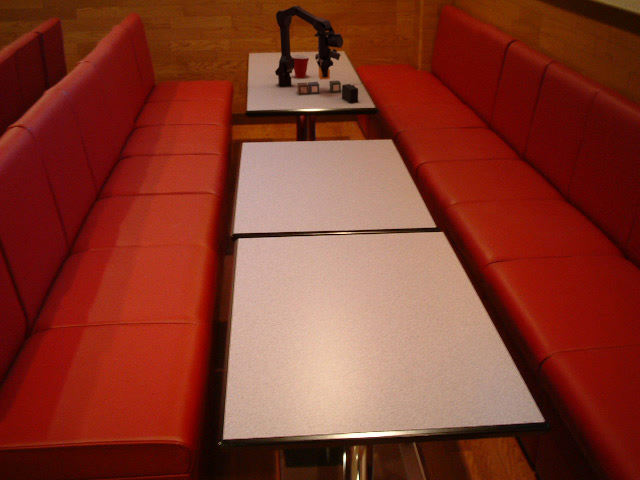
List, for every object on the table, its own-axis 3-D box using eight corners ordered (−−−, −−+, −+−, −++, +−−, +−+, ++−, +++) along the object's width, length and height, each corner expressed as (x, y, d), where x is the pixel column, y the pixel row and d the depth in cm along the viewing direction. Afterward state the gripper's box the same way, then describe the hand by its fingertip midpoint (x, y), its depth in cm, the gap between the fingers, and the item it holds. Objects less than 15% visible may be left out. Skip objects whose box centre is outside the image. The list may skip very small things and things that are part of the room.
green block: (331, 92, 336) (331, 83, 334) (329, 90, 341) (329, 80, 338) (340, 92, 337) (340, 82, 335) (338, 89, 341) (338, 80, 339)
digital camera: (360, 102, 320) (360, 88, 316) (350, 103, 318) (350, 89, 315) (351, 97, 328) (351, 83, 325) (342, 98, 326) (342, 84, 323)
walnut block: (299, 94, 333) (298, 85, 331) (297, 92, 338) (297, 83, 336) (308, 94, 334) (308, 84, 332) (306, 91, 339) (306, 82, 336)
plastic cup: (313, 77, 367) (313, 56, 361) (298, 80, 362) (297, 58, 356) (303, 73, 375) (303, 52, 369) (288, 76, 370) (287, 55, 364)
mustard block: (320, 79, 332) (320, 70, 330) (318, 77, 337) (318, 67, 334) (329, 79, 333) (329, 69, 331) (328, 76, 337) (327, 67, 335)
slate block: (310, 94, 334) (309, 84, 332) (308, 91, 339) (308, 82, 337) (319, 93, 335) (319, 84, 333) (317, 91, 340) (317, 81, 337)
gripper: (343, 48, 320) (343, 79, 327) (335, 41, 336) (335, 71, 344) (321, 49, 318) (321, 81, 326) (314, 42, 335) (315, 72, 342)
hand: (324, 76), depth 334 cm, fingers closed on mustard block, 5 cm apart
